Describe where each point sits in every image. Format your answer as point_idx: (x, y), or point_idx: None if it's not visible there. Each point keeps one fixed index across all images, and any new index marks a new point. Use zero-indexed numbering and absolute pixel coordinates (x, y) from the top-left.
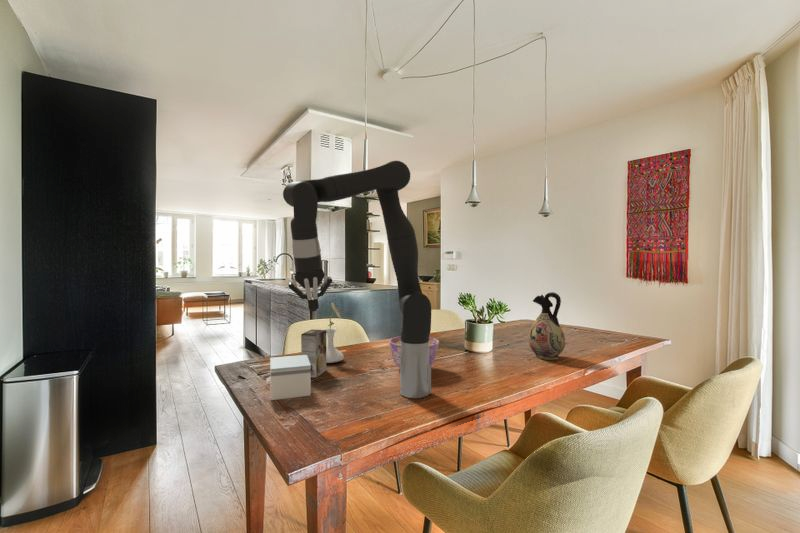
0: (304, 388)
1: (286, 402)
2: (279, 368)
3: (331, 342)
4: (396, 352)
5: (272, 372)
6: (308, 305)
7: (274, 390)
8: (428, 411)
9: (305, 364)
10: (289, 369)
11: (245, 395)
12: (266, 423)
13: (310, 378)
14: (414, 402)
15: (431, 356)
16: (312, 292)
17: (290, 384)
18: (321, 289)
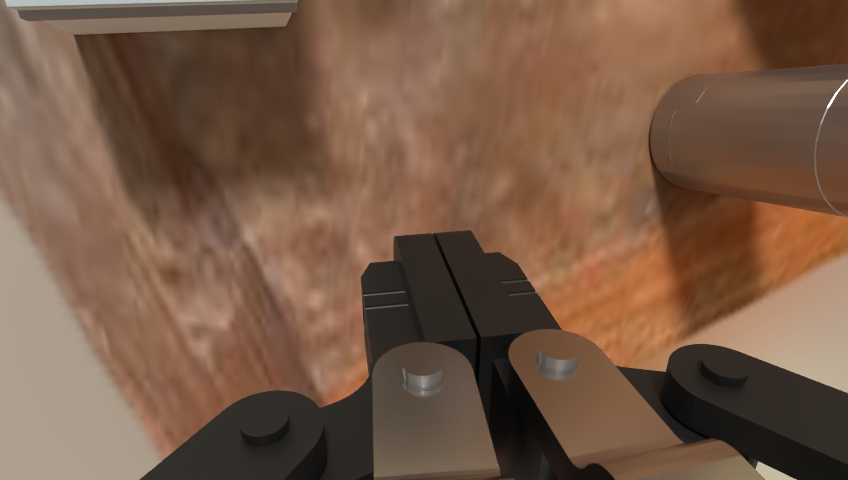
0: (255, 22)
1: (167, 87)
2: (76, 5)
3: None
4: None
5: (30, 10)
6: (368, 363)
7: (81, 27)
8: (673, 296)
9: None
10: (153, 4)
11: None
12: (108, 301)
13: (291, 13)
14: (664, 216)
15: None
16: (539, 427)
17: (173, 19)
18: (788, 449)
